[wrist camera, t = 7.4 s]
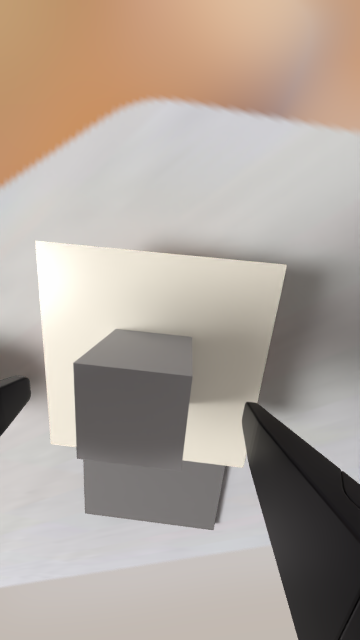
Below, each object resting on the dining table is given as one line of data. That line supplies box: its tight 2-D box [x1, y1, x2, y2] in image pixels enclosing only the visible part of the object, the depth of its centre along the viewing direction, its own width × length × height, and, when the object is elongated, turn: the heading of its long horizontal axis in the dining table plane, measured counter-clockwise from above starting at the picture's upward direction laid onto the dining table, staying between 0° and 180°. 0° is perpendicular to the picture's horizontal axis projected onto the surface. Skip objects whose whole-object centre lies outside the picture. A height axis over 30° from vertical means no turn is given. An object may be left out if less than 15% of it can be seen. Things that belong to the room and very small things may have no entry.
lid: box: [35, 241, 287, 471], centre depth 10 cm, size 12×12×5 cm
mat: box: [83, 459, 225, 530], centre depth 19 cm, size 13×13×1 cm
